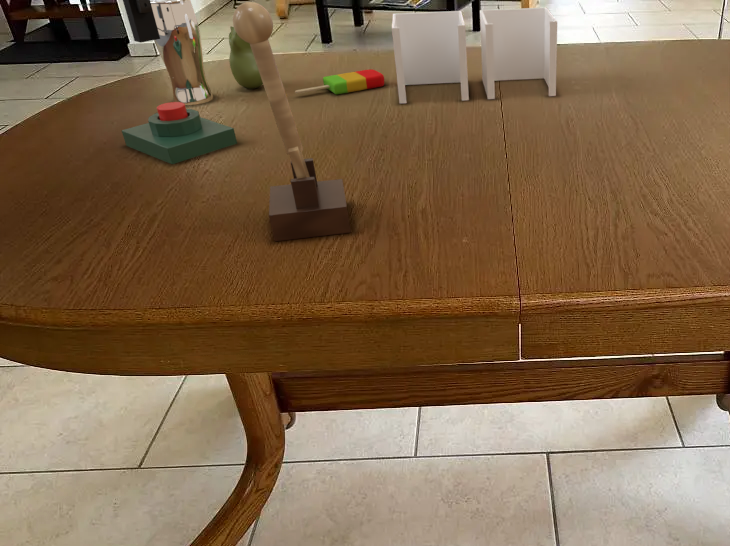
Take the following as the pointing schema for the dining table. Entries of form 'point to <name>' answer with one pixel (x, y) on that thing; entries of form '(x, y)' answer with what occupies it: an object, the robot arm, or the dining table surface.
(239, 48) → the pear
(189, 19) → the beer glass
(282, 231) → the holder
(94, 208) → the dining table surface
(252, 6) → the wooden rod
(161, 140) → the button box
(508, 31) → the twin white cubbies
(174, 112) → the button
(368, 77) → the popsicle
